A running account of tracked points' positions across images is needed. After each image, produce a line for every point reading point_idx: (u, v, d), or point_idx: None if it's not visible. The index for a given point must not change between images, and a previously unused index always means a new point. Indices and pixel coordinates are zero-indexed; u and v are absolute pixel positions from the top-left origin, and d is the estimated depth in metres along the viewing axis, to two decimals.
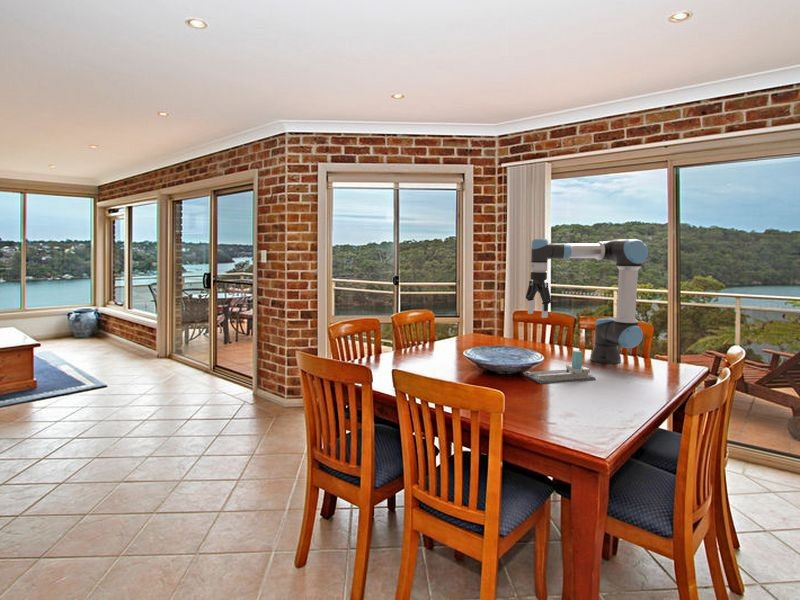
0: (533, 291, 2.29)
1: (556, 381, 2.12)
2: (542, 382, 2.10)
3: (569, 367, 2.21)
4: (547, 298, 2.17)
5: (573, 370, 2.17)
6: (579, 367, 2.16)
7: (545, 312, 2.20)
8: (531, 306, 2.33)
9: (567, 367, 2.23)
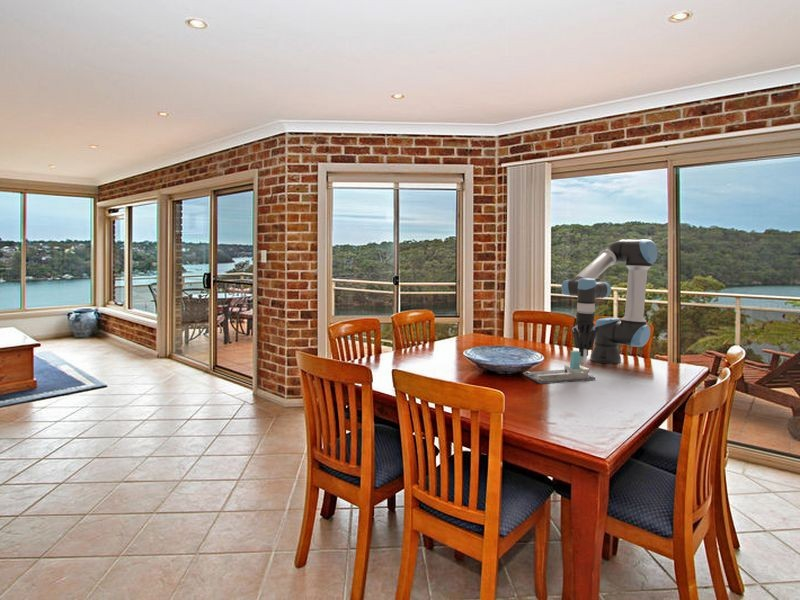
0: None
1: (556, 381, 2.12)
2: (542, 382, 2.10)
3: (567, 367, 2.21)
4: (575, 343, 2.16)
5: (571, 370, 2.17)
6: (577, 367, 2.15)
7: (582, 357, 2.17)
8: None
9: (565, 367, 2.22)
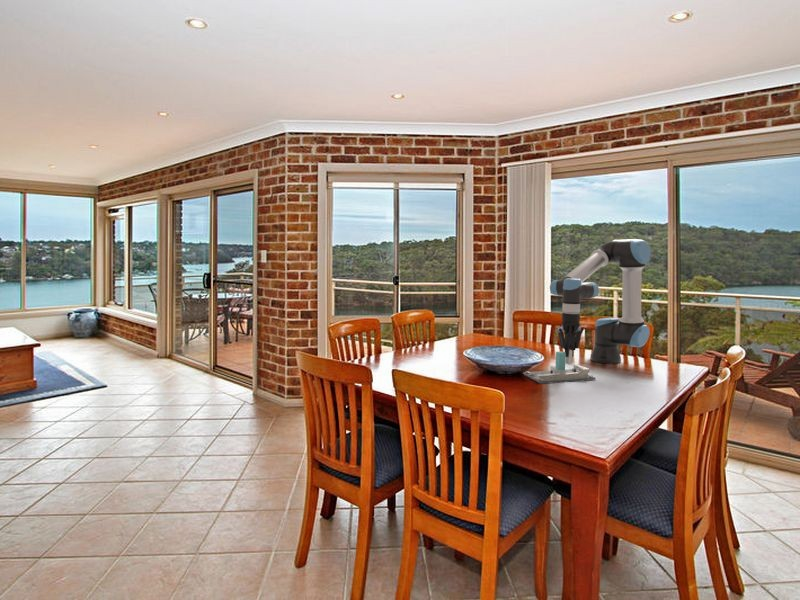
0: (570, 334, 2.15)
1: (556, 381, 2.12)
2: (542, 382, 2.10)
3: (553, 368, 2.19)
4: (561, 344, 2.14)
5: (557, 371, 2.15)
6: (562, 368, 2.14)
7: (567, 358, 2.15)
8: None
9: (551, 368, 2.21)
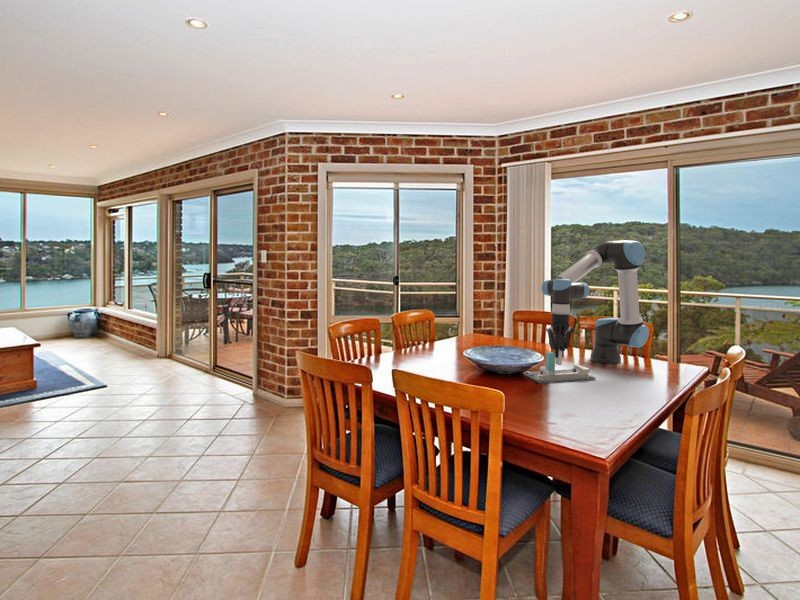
0: (560, 335, 2.14)
1: (556, 381, 2.12)
2: (542, 382, 2.10)
3: (543, 368, 2.18)
4: (550, 345, 2.13)
5: (546, 372, 2.14)
6: (552, 369, 2.12)
7: (557, 359, 2.14)
8: None
9: (541, 369, 2.20)
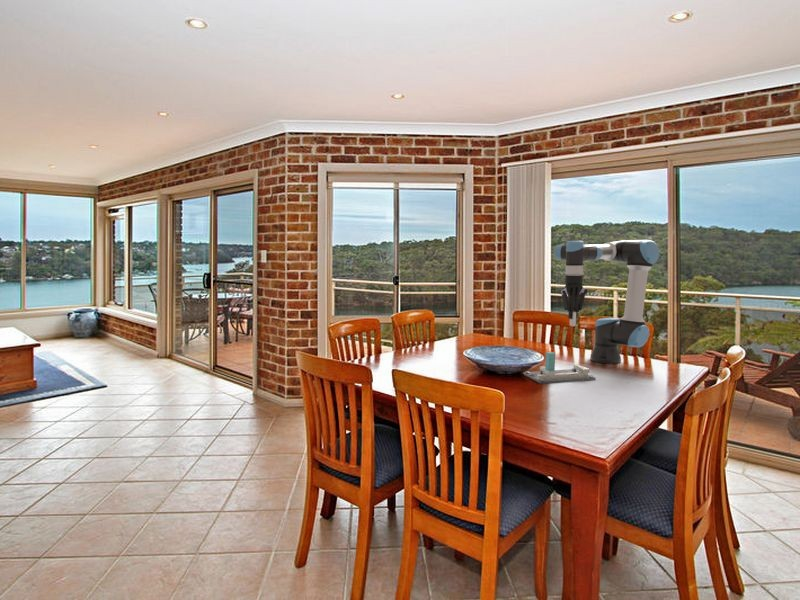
0: None
1: (556, 381, 2.12)
2: (542, 382, 2.10)
3: (543, 368, 2.18)
4: (565, 306, 2.16)
5: (546, 372, 2.14)
6: (552, 369, 2.12)
7: (571, 320, 2.17)
8: None
9: (541, 369, 2.20)
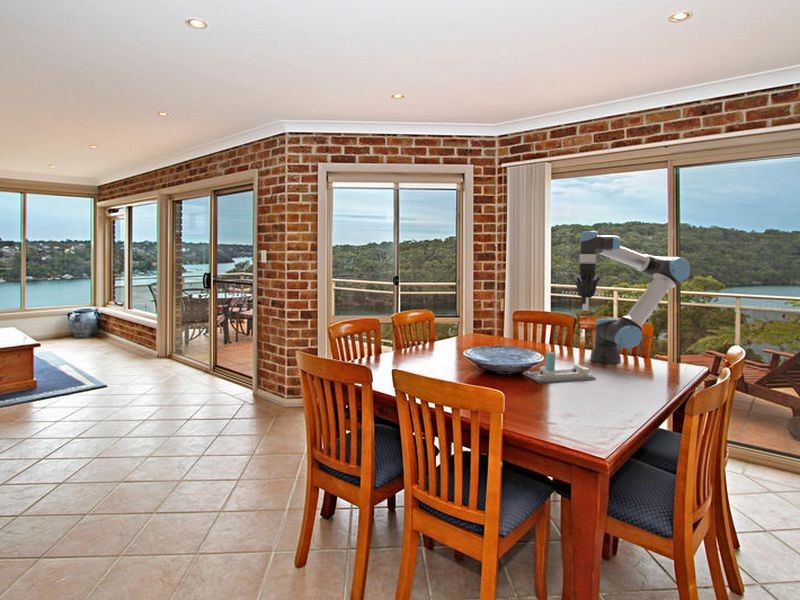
0: None
1: (556, 381, 2.12)
2: (542, 382, 2.10)
3: (543, 368, 2.18)
4: (578, 292, 2.33)
5: (546, 372, 2.14)
6: (552, 369, 2.12)
7: (584, 305, 2.34)
8: None
9: (541, 369, 2.20)
